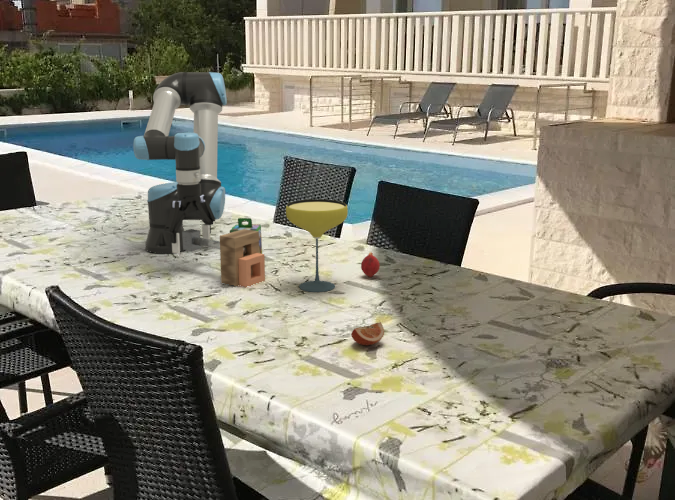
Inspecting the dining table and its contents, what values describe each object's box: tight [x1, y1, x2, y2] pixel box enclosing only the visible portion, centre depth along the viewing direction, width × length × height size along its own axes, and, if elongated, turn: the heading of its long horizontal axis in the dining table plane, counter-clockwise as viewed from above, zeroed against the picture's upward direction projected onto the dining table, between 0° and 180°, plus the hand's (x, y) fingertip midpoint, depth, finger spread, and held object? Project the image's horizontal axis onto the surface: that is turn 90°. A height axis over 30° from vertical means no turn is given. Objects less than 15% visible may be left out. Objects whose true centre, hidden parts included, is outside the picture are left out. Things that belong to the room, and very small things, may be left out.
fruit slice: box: [350, 321, 385, 346], centre depth 182 cm, size 8×7×5 cm
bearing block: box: [219, 229, 259, 287], centre depth 232 cm, size 6×11×15 cm, turn 146°
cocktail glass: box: [285, 198, 349, 293], centre depth 224 cm, size 18×18×25 cm
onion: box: [360, 251, 381, 278], centre depth 236 cm, size 6×6×8 cm
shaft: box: [182, 228, 247, 254], centre depth 237 cm, size 24×4×6 cm, turn 56°
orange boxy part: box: [238, 253, 266, 288], centre depth 230 cm, size 3×8×8 cm, turn 146°
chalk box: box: [229, 217, 263, 254], centre depth 255 cm, size 9×9×15 cm
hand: (191, 248), depth 243 cm, fingers open, 13 cm apart
